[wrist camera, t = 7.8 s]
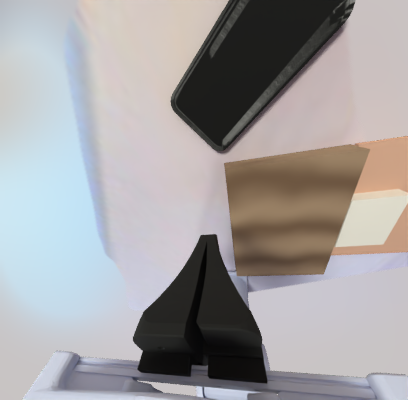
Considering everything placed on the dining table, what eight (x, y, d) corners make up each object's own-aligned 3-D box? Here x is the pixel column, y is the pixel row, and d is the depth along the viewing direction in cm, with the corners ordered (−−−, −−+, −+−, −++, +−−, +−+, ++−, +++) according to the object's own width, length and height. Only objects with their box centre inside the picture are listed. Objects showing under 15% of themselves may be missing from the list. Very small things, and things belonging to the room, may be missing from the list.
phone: (361, 4, 11) (220, 155, 17) (349, 13, 12) (220, 153, 18) (302, -125, 9) (165, 103, 15) (293, -101, 10) (168, 103, 16)
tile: (373, 236, 22) (383, 244, 21) (328, 239, 23) (335, 247, 22) (398, 188, 18) (412, 194, 17) (342, 194, 19) (351, 200, 18)
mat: (435, 247, 23) (440, 250, 22) (320, 253, 25) (322, 255, 25) (551, 114, 14) (562, 114, 13) (355, 143, 16) (359, 144, 16)
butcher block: (315, 260, 26) (323, 274, 24) (235, 264, 28) (236, 276, 26) (350, 144, 16) (370, 149, 14) (224, 163, 19) (225, 169, 16)
